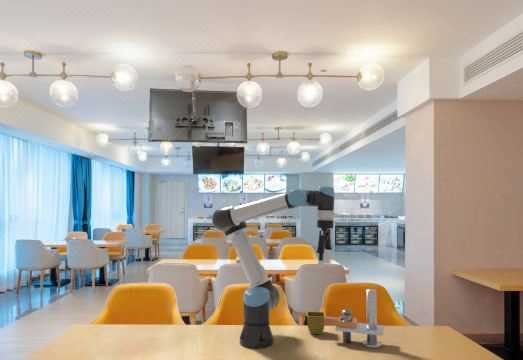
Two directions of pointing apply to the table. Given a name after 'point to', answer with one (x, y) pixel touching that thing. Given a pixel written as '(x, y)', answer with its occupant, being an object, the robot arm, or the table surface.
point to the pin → (346, 317)
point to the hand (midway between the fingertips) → (324, 265)
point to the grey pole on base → (368, 328)
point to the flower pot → (315, 322)
